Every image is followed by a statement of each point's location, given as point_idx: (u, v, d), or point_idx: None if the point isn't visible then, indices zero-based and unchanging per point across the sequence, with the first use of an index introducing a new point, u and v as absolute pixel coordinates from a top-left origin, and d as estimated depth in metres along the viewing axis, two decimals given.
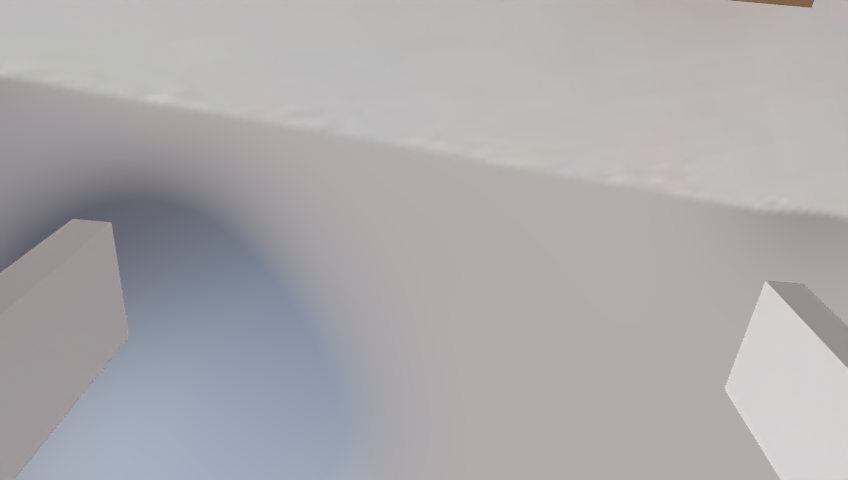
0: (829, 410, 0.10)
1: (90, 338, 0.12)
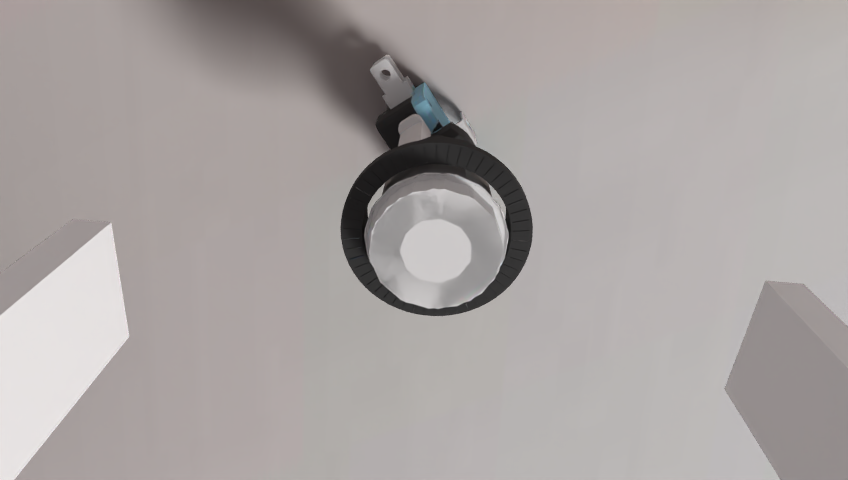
0: (829, 410, 0.10)
1: (90, 338, 0.12)
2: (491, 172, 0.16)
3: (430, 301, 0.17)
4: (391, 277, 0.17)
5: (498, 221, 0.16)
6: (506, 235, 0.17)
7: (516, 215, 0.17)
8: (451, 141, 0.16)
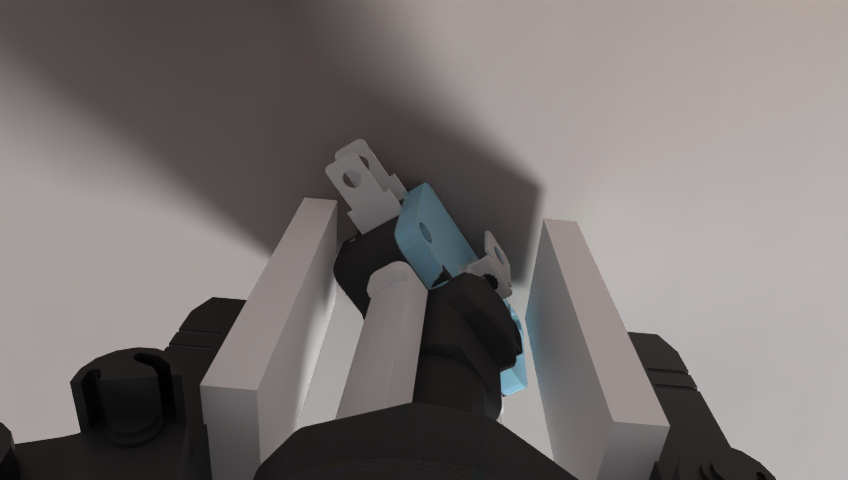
0: (556, 316, 0.12)
1: (326, 299, 0.13)
2: None
3: None
4: None
5: None
6: None
7: None
8: (444, 473, 0.06)
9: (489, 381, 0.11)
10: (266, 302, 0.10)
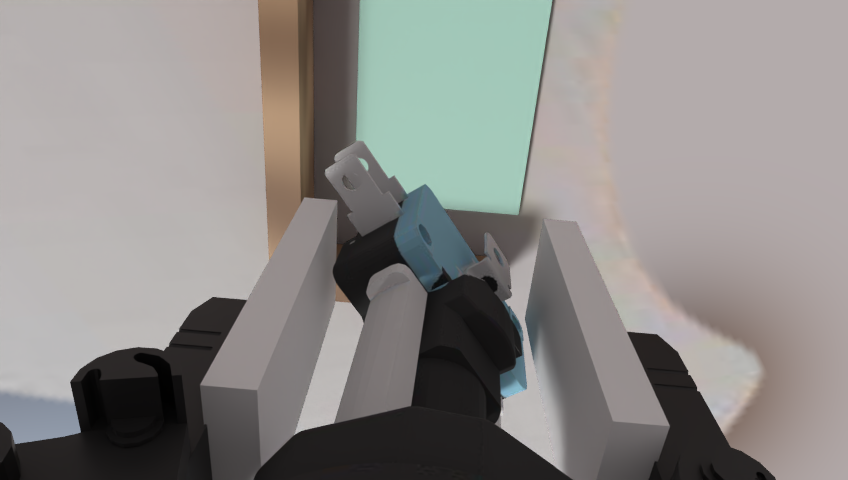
0: (556, 316, 0.12)
1: (326, 299, 0.13)
2: None
3: None
4: None
5: None
6: None
7: None
8: (443, 478, 0.06)
9: (488, 383, 0.11)
10: (266, 302, 0.10)
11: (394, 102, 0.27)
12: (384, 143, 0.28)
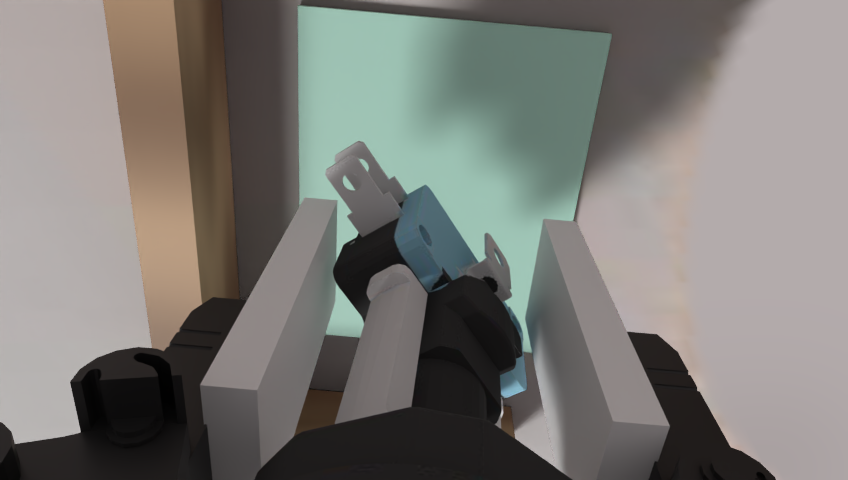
0: (556, 316, 0.12)
1: (326, 299, 0.13)
2: None
3: None
4: None
5: None
6: None
7: None
8: (443, 479, 0.06)
9: (489, 384, 0.11)
10: (266, 302, 0.10)
11: None
12: None
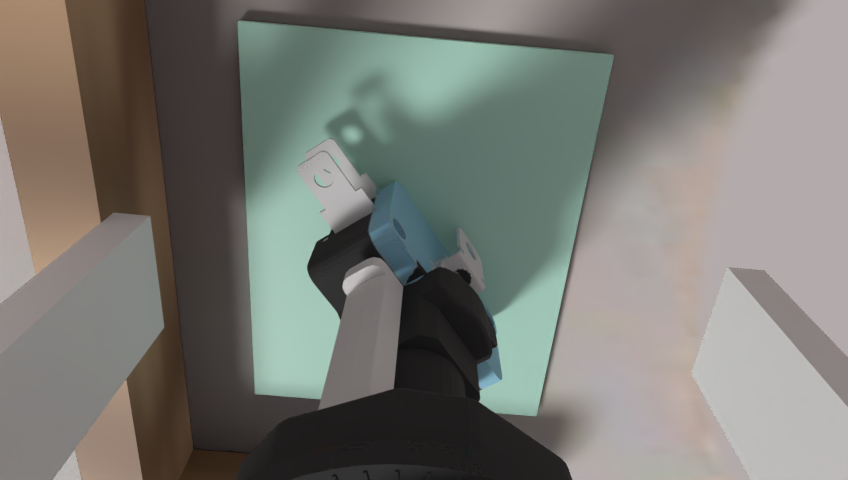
0: (781, 389, 0.10)
1: (131, 327, 0.12)
2: None
3: None
4: None
5: None
6: None
7: None
8: (433, 452, 0.06)
9: (466, 372, 0.11)
10: None
11: (315, 240, 0.15)
12: (301, 307, 0.16)
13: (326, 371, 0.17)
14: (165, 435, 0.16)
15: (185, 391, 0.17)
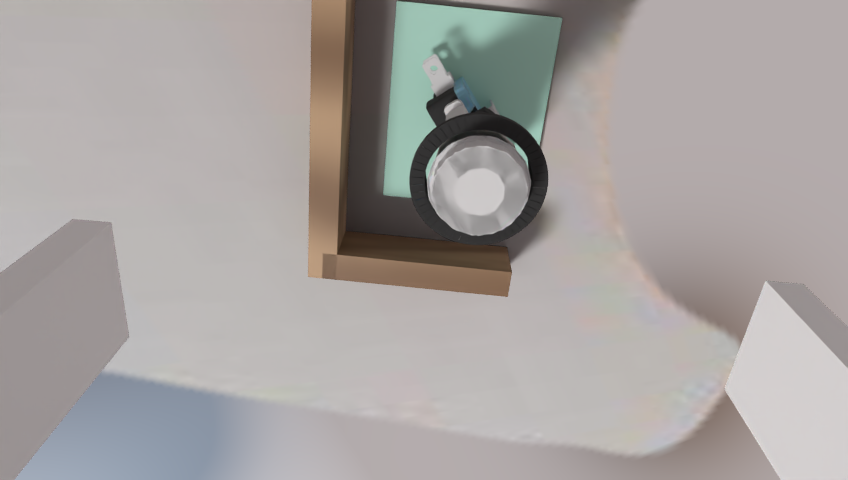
0: (829, 410, 0.10)
1: (90, 338, 0.12)
2: (519, 136, 0.23)
3: (473, 229, 0.23)
4: (446, 211, 0.23)
5: (523, 172, 0.23)
6: (529, 182, 0.23)
7: (536, 168, 0.23)
8: (491, 114, 0.23)
9: None
10: None
11: (421, 108, 0.31)
12: (411, 144, 0.32)
13: None
14: (342, 208, 0.33)
15: (346, 193, 0.34)
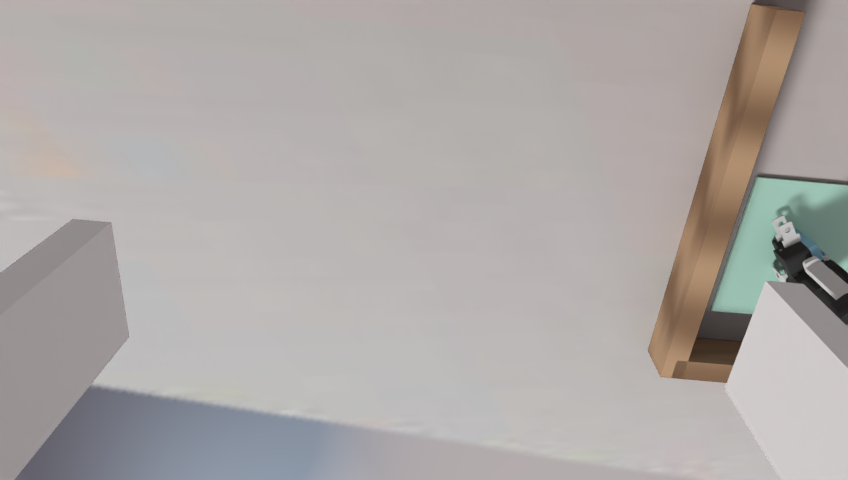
0: (829, 410, 0.10)
1: (90, 338, 0.12)
2: None
3: None
4: None
5: None
6: None
7: None
8: None
9: None
10: None
11: (758, 250, 0.41)
12: (744, 275, 0.42)
13: (744, 301, 0.43)
14: None
15: None
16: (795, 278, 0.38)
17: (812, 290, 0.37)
